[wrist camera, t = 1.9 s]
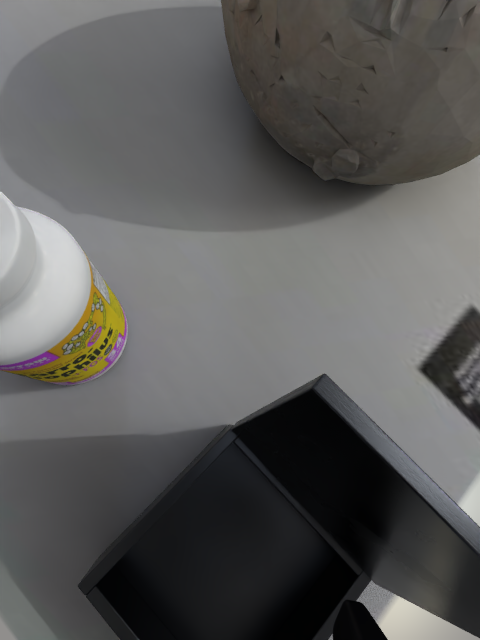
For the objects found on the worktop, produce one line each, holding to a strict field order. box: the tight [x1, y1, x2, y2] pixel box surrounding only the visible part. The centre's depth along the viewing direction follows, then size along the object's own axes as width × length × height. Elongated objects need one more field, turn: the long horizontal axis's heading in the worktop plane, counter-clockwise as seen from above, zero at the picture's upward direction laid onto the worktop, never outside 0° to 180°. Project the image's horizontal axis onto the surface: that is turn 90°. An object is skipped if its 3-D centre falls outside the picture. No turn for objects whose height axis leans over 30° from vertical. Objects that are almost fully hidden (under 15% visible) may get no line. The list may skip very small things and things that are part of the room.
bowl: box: [221, 0, 480, 185], centre depth 23 cm, size 23×23×15 cm
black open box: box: [78, 425, 371, 640], centre depth 19 cm, size 10×10×4 cm
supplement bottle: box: [0, 192, 128, 385], centre depth 17 cm, size 7×7×13 cm
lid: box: [231, 374, 480, 638], centre depth 13 cm, size 11×10×1 cm
